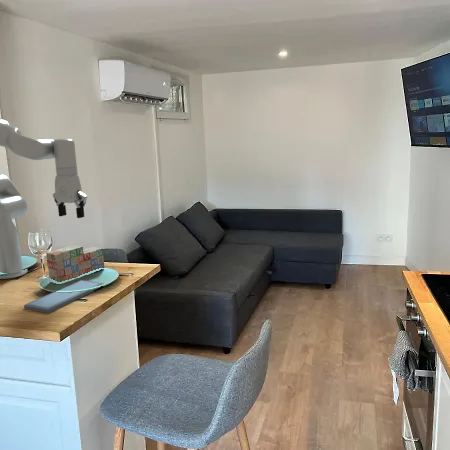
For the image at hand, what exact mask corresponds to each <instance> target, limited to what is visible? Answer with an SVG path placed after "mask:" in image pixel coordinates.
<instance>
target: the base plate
mask: <svg viewBox="0 0 450 450" xmlns="http://www.w3.org/2000/svg"><path fill="white" fill-rule="evenodd" d="M102 284H104V282H98V281H91V280H84V279H80V280H78V281H76V282H73V283H71V284H69V285H66V286H64V287H62V288H61V289H62V290H79V289H86V288H91V287H94V286H99V285H102ZM93 292H94V291H89V290H88V291H82V292H72V293H58V292H55V291H53V292H50V293H49V294H46V295H44V296H41V297H39V298H36V299H35V300H33V301H30V302H27V303H26V304H23V307H24V310H25V309H26V310H29V311H35V312H39V313H45V314H50V313H52V312H54V311H56V310H59V309H60V308H62V307H65V306H67V305H68V304H71V303H72V302H75V301H78V300H79V299H81V298H83V297H85V296H87V295H89V294H91V293H93Z"/></svg>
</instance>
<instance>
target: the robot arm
mask: <svg viewBox="0 0 450 450" xmlns="http://www.w3.org/2000/svg"><path fill="white" fill-rule="evenodd" d="M0 147H4V148H6V149H8V150H9V151H11V153H13V154H15V155H17V156H20V157H23V158H26V159H29V160H32V161H42V160H50V159H54V164H55V173H56V175H55V178H54V179H55V180H54V193H53V194H52V197H53V200H54V202H55V203H56V206H57V209H58V210H57V211H58V216H59V217H65V216H67V206H66V205H65V204H66V203H67V204H72V203H73V204H74V205H75V206H76V208H75V211H76V218H77V219H81V218H84V217H85V210H84V207H85V205H86V203H87V199H88V196H87V195H86V194H85V193H84V192H83V191H82V184H81V180H80V176H79V174H78V173H79V172H78V163H77V155H76V144H75V141H74V140H73V139H72V138H56V139H55V138H39V139H38V138H30V137H27V136H25V135H22V132H21V131H20V129H19V128H18V127H16V126H13V125H11V124H10V123H9V121H7V120H5V119H2V118H0ZM27 212H28V204H27V201H26V199H25V198H24V196H23V195H22V193H21V192H20V191H19V189H18V188H17V186H16V184H14V182H13V181H12V180H11V179H10V178H9V176H7V175H6V174H3V173H0V272H2V273H10V274H7V275H4V276H0V280H7V279H13V278H14V279H15V278H17V277H18V278H19V277H20V276H24V275H25V274H27V273H28V268H27V269H25V270H22V269H23V267H24V265H23V261H22V260H23V259H22V252H21V245H20V238H19V233H18V228H17V226H16V225H15V223H14V222H13V220H14V219H18V218H20V217H21V218H22V217H23V216H25V214H26V213H27Z"/></svg>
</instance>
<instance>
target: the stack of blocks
mask: <svg viewBox="0 0 450 450" xmlns="http://www.w3.org/2000/svg"><path fill="white" fill-rule="evenodd" d="M46 263H47V268H48V269H47V270H48V274H49V276H48V277H49V279H50V278H51V279H53V280H55V281H57V282H62V281H65V280H69V279H72V278H76V277H78V276H80V275H82V274H85V273H88V272H90V271H93V270H96V269H99V268H105V259H104V252H103V248H101V247H96V246H90V247H87V248H84V247H83V246H82V245H76V244H72V245H68V246H64V247H61V248H58V249H54V250H51V251H47V252H46Z"/></svg>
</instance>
